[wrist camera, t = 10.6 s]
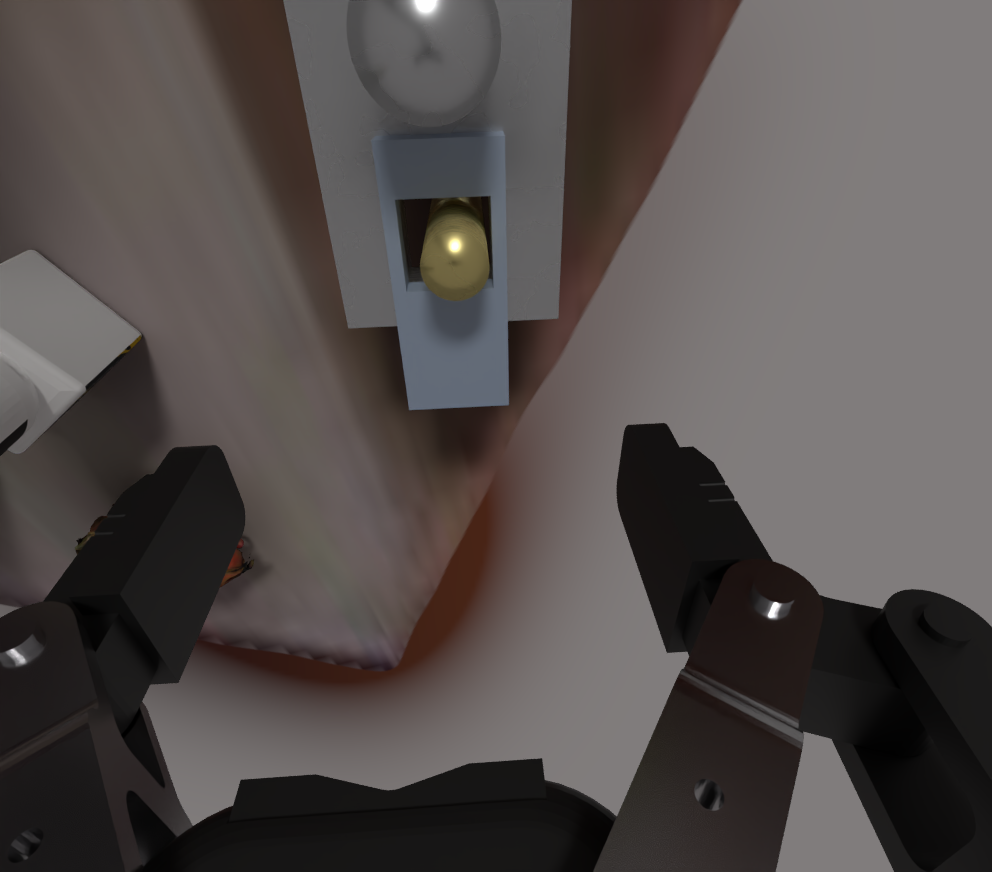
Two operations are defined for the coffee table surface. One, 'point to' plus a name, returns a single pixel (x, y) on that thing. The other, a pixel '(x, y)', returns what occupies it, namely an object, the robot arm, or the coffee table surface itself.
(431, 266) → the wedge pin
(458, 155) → the bracket
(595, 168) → the coffee table surface
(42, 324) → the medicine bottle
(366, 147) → the grey piece
